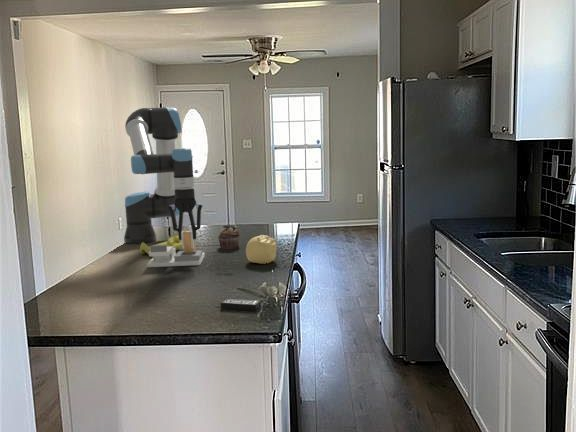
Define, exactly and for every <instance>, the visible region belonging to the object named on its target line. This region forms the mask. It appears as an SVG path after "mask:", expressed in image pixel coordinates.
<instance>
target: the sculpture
mask: <svg viewBox="0 0 576 432" xmlns="http://www.w3.org/2000/svg"><path fill="white" fill-rule="evenodd" d="M277 250H278V245H277V241H276V239H275V238H273V237H270V236H269V235H266V234H265V235H264V234H260V235H257V236H254V237H251V238H250V239H249V241H248V242H247V243H246V248H245V254H246V258H247V259H248V261H249V262H250V263H253V264H254V263H255V264H261V265H262V264H264V265H265V264H266V263H267V264H269V263H272V262H273V261H274V260H275V259H276V257H277V256H276V255H277ZM267 264H266V265H267Z"/></svg>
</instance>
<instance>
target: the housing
mask: <svg viewBox="0 0 576 432" xmlns="http://www.w3.org/2000/svg"><path fill="white" fill-rule="evenodd" d="M196 248H197V247H196V239H194V248H193V252H188V253H186V252H184V250H181V251H180V250H176V249H175V248H173V251H172V252H171V254H170V255H169V256H153V257H152V258H151V259H150V260H149V261H148V262H147V268H159V267H161V268H162V267H164V268H165V267H182V266H183V267H185V266H201V263H202V261H203V260H204V258H205V256H206V255H205V254H206V253H205V252H203V250H196Z"/></svg>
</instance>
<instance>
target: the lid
mask: <svg viewBox="0 0 576 432" xmlns="http://www.w3.org/2000/svg"><path fill="white" fill-rule="evenodd" d="M149 246H150V250H151V251H150V252H149V254H148V256H149V257H151V256H169V255H170V254H171V252H172V251H173V246H169V247H167V245H156V244H152V245H149Z"/></svg>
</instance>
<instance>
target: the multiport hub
mask: <svg viewBox="0 0 576 432" xmlns="http://www.w3.org/2000/svg"><path fill="white" fill-rule="evenodd" d="M219 305H220V310H225V311H226V310H227V311H237V312H238V311H240V312H241V311H242V312H254V313H255V312H258V311H259V310H260V309H261V308H262V301H261V300H255V299H238V298H225V299H223V300H222V301H221V302H220V304H219Z"/></svg>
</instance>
